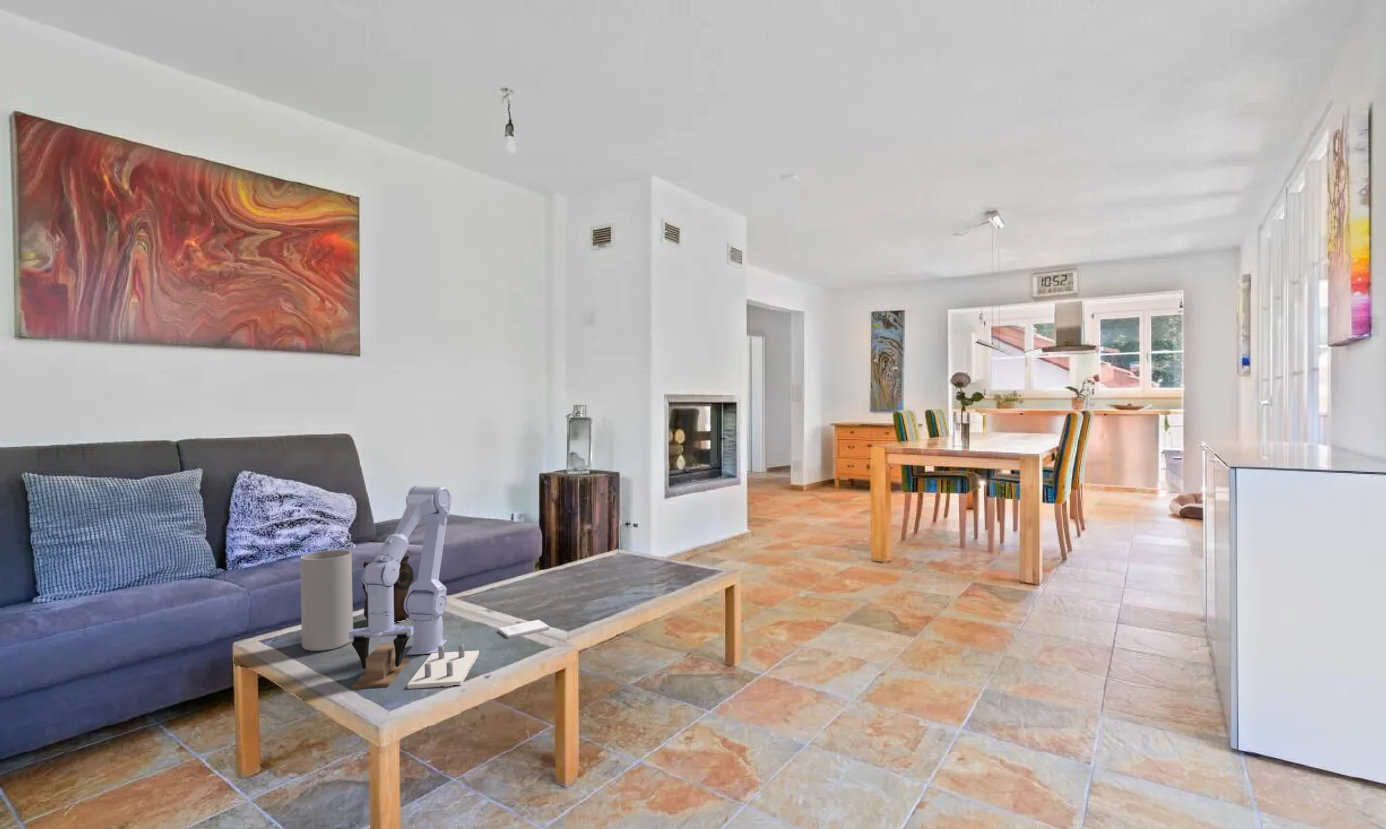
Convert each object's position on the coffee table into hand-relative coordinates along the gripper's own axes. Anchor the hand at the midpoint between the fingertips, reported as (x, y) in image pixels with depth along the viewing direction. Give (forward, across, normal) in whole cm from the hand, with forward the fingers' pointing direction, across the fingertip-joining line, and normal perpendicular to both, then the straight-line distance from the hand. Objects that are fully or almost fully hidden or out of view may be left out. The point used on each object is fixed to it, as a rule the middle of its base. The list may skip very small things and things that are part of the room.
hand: (382, 666), depth 161 cm
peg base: (+2, +15, 0) cm, 15 cm away
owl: (+2, -13, +45) cm, 47 cm away
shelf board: (+2, 0, 0) cm, 2 cm away
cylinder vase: (+2, -23, +25) cm, 34 cm away
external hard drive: (+3, +30, +28) cm, 41 cm away
